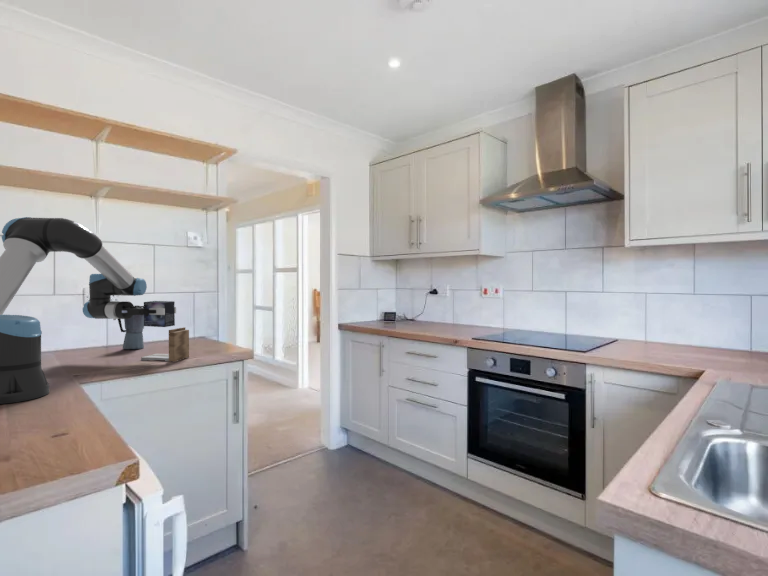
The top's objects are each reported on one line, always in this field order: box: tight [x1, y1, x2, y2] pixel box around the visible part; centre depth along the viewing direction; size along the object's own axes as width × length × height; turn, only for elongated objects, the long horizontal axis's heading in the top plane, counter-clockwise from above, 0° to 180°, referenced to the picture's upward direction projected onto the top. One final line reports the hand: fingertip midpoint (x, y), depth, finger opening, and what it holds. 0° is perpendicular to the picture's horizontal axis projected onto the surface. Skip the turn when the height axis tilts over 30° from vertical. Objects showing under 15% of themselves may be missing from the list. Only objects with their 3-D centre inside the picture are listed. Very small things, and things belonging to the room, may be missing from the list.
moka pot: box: [117, 315, 145, 350], centre depth 201 cm, size 10×15×20 cm, turn 164°
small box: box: [143, 300, 176, 328], centre depth 175 cm, size 11×6×10 cm, turn 77°
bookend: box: [140, 326, 190, 363], centre depth 176 cm, size 10×16×13 cm, turn 82°
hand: (169, 310), depth 174 cm, fingers closed on small box, 7 cm apart
